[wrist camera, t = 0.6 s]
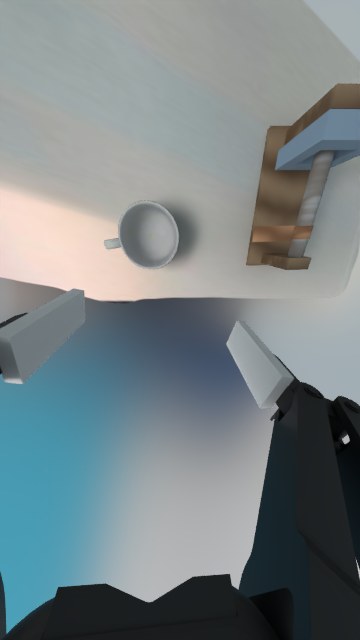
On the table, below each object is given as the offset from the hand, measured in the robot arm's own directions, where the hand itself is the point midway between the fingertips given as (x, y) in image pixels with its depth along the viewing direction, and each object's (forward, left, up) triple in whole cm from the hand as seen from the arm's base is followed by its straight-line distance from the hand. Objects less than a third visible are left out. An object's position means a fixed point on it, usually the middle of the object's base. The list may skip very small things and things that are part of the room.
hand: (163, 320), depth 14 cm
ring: (-18, +24, -23) cm, 38 cm away
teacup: (-7, -4, -28) cm, 29 cm away
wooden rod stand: (-12, +24, -27) cm, 38 cm away
